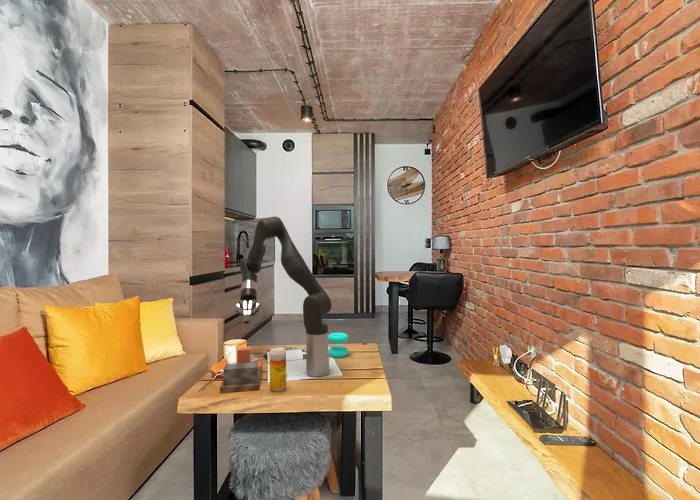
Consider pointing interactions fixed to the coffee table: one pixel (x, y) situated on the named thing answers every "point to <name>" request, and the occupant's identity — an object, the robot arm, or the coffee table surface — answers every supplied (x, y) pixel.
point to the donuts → (338, 350)
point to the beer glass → (277, 369)
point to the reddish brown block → (243, 355)
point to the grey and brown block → (241, 377)
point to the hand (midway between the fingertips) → (246, 322)
